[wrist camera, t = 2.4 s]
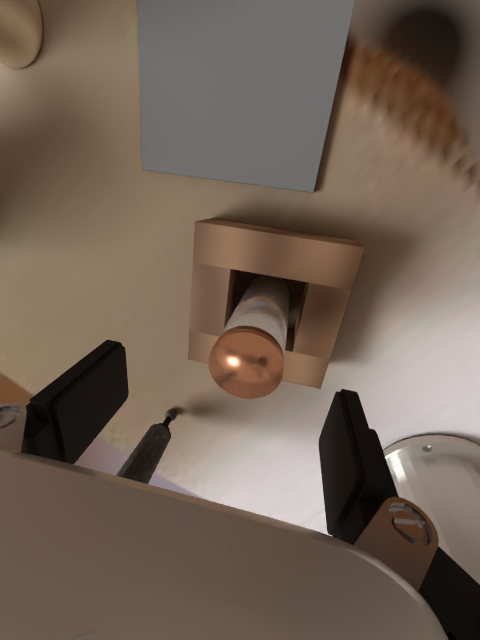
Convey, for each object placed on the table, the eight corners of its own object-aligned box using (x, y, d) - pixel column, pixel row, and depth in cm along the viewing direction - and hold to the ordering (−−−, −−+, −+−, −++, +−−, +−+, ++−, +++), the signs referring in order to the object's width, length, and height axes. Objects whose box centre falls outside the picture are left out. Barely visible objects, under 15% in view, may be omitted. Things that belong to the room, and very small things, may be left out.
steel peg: (294, 279, 24) (290, 343, 13) (285, 319, 26) (275, 405, 15) (250, 271, 24) (211, 326, 14) (244, 311, 26) (205, 389, 15)
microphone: (186, 384, 31) (33, 632, 13) (208, 429, 33) (102, 695, 15) (138, 393, 33) (-51, 618, 15) (161, 435, 35) (21, 674, 17)
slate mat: (373, -84, 15) (376, -95, 14) (313, 192, 21) (313, 192, 20) (140, -85, 17) (135, -94, 16) (145, 170, 23) (142, 169, 22)
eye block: (354, 240, 22) (365, 247, 18) (317, 363, 27) (320, 388, 23) (211, 218, 23) (195, 221, 20) (202, 339, 28) (188, 359, 25)
